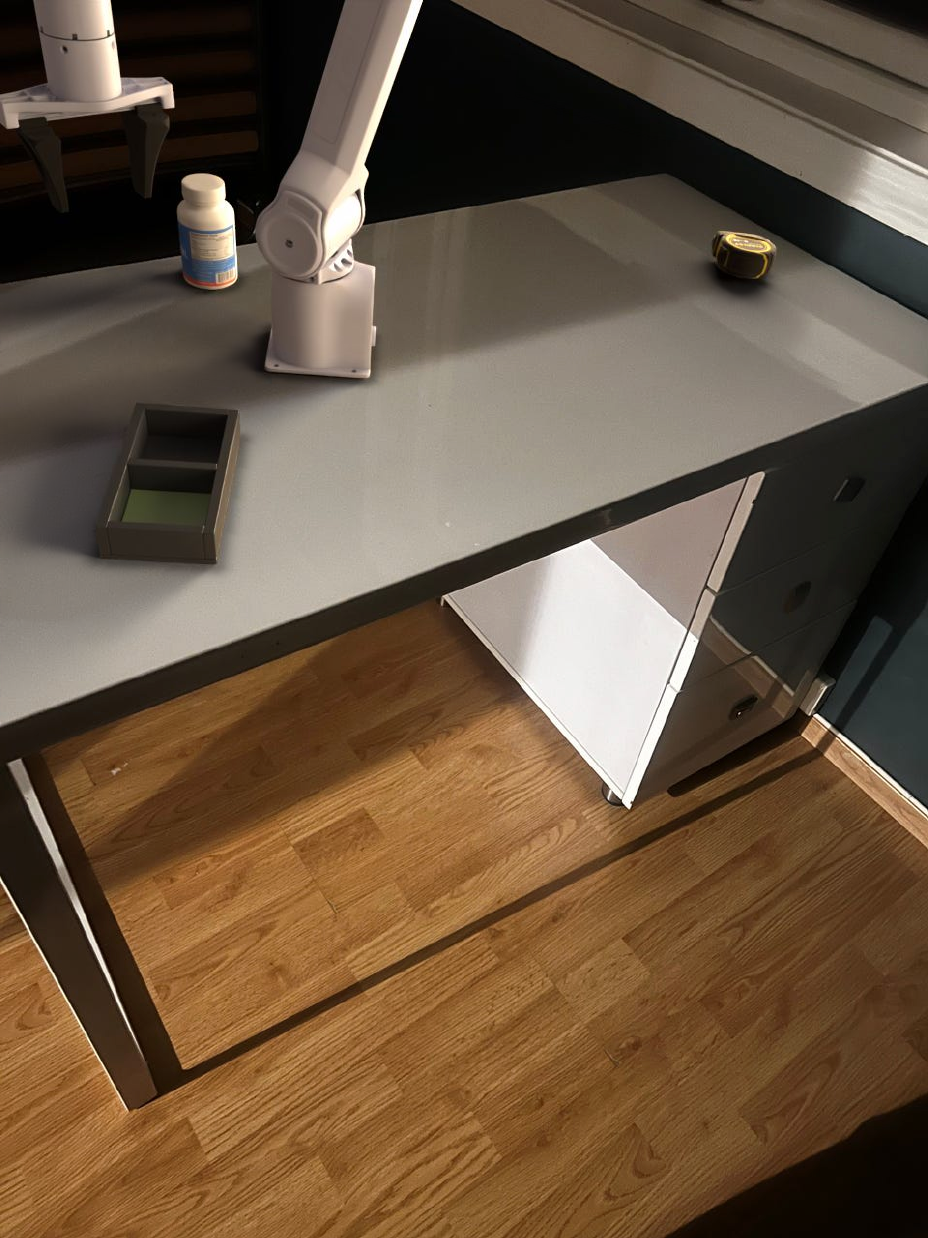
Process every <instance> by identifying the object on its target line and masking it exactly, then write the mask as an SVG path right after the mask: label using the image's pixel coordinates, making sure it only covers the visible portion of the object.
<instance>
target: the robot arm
mask: <svg viewBox="0 0 928 1238" xmlns="http://www.w3.org/2000/svg"><path fill="white" fill-rule="evenodd" d="M32 1H33V6H34V12H35V18H36V23H37V28H38V33H39V39H40V44H41V45H40V46H41V51H42V56H43V57H42V58H43V62H44V69H45V74H46V79H47V82H46V83H42V84H39V85H35V86H32V87H31V86H30V87H28V88H24V89H20V90H17V91H12V92H7V93H2V94H0V125H2V127H4V128H5V129H7V130H10V129H11V130H12V131H13V133H14V134H15V135H16V137H17V138H18V139H19V141H20V143H21V144H22V146H23V148H24V149H25V151H26V152H27V153H28V155H29V157H30V159H31V160H32V162H33V164H34V166H35V168H36V169H37V171H38V173H39V175H40V177H41V180H42V182H43V184H44V186H45V189H46V191H47V193H48V197H49V199H50V203H51V206H53V208H55V209H56V210H57V211H58V213H61V214H63V213H69V200H68V195H67V190H66V186H65V181H64V175H63V168H62V167H63V166H62V139H60V138H59V137H58V136H57V135H56V134H55V133H54V132H53V128H52V127H53V126H52V125H49V124H48V123H49V122H48V121H54V120H55V121H56V120H63V119H71V118H79V117H86V116H87V117H88V116H95V115H96V116H97V115H103V114H111V113H120V117H121V120H122V126H123V128H124V133H125V134H124V135H125V138H126V142H127V147H128V155H129V164H130V165H129V167H130V174H131V180H132V186H133V189H134V191H135V192H136V193H137V194H138V195H140V196H141V197H142V198H143V199H149V198H152V190H153V180H154V175H155V169H156V165H157V161H158V157H159V154H160V151H161V149H162V148H161V147H162V146H163V143H164V141H165V138H166V136H167V134H168V133H169V131H170V117H169V115H168V114H167V113H165V112H164V111H163V110H164V109H165V110H167V109H174V108H175V99H174V91H173V89H174V88H173V84H172V83H171V82H170V81H168V80H167V79H166V78H164V77H162V76H157V77H121V74H120V63H119V57H118V49H117V48H118V47H117V43H116V42H117V41H116V34H115V26H114V25H115V24H114V18H113V17H114V16H113V10H112V3H111V0H32ZM422 3H423V0H344V3H343V7H342V10H341V13H340V17H339V20H338V24H337V27H336V30H335V33H334V36H333V40H332V43H331V46H330V50H329V53H328V57H327V59H326V63H325V67H324V70H323V73H322V77H321V79H320V83H319V86H318V88H317V89H318V90H317V93H316V96H315V99H314V103H313V106H312V109H311V113H310V116H309V119H308V122H307V126H306V129H305V133H304V136H303V138H302V142H301V146H300V149H299V151H298V152H297V154H296V156H295V158H294V159H293V161H292V163H291V164H290V166H289V167H288V169H287V170H286V173H285V174H284V176H283V178H282V179H281V182H280V183H279V187H278V191H277V193H276V196H275V197H274V200H273V201H272V202H271V203H269V204H268V205H267V206H266V207H265V208H264V209H263V210H262V211H261V212H260V214H259V215H258V218H257V219H256V222H255V223H256V224H255V231H254V232H255V240H256V244H257V248H258V250H259V252H260V254H261V256H262V257H263V259H264V260H265V261H266V263H267V264H268V265H269V266H270V267H269V268H270V271H269V272H270V304H271V306H270V307H271V328H270V333H269V339H268V345H267V350H266V355H265V361H264V370H265V371H267V372H271V373H272V372H273V373H285V374H299V375H311V376H312V375H313V376H314V375H315V376H327V377H339V378H351V379H352V378H353V379H368V378H370V376H371V362H372V361H371V360H372V347H376V334H377V333H376V332H377V326H376V325H373V321H374V304H375V303H374V301H375V281H376V280H375V279H376V267H375V266H373V265H370V264H367V263H362V262H359V261H357V260H355V258H354V252H353V247H352V237H354V236H355V235H356V234H357V233H358V232H359V231H360V229H361V227H362V226H363V224H364V221H365V217H366V205H365V198H364V197H365V195H364V193H365V186H366V183H367V180H368V178H369V171H368V169H367V168H366V166H365V163H366V160H367V157H368V154H369V152H370V148H371V146H372V143H373V140H374V137H375V135H376V133H377V129H378V127H379V123H380V121H381V118H382V115H383V112H384V109H385V107H386V104H387V101H388V99H389V96H390V93H391V90H392V87H393V85H394V81H395V79H396V76H397V73H398V71H399V68H400V65H401V62H402V60H403V57H404V54H405V51H406V48H407V45H408V42H409V39H410V38H411V34H412V32H413V29H414V26H415V23H416V20H417V17H418V14H419V12H420V9H421V6H422Z"/></svg>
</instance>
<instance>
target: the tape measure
mask: <svg viewBox="0 0 928 1238" xmlns="http://www.w3.org/2000/svg"><path fill="white" fill-rule="evenodd" d="M710 246H711V247H710V248H711V255H712V257H713V258H715V259H714V261H715V265H716V266H717V267H718V268H719V269H720V270H721V271H722V272H724V273H726V274H728V275H731V276H734V277H736V278H738V279H739V278H740V279H748V280H753V279H754V280H757V279H762V278H765V277H767V276H768V275H769V274H770V273H771V271H772V269H773V266H774V264H775V261H776V257H777V254H778V253H777V252H778V249H777V247H776V245H775V244H774V243H773V242H772V241H771V240H770V239H768V238H767V237H763V236H760V235H756V234H750V233H743V232H733V231H725V230H718V231H717V232H716V233H715V234H714V235H713V236H712V240H711V242H710Z"/></svg>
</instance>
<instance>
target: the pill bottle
mask: <svg viewBox="0 0 928 1238" xmlns="http://www.w3.org/2000/svg"><path fill="white" fill-rule="evenodd" d="M180 182H181V183H180V184H181V195H182V198H183V199H182V200H181V201H180V202H179V203H178V205H177V208H176V217H177V229H178V230H177V231H178V238H179V247H180V248H179V249H180V258H181V266H182V268H181V271H182V274H183V279H184V280H185V281H186V283H187V284H189V285H191V286H193V287H195V288H198V289H203V290H210V291H211V290H215V291H216V290H222V289H225V288H228V287H230V286H232V285H233V284H234V283H236V281H237V279H238V261H237V259H238V258H237V246H236V229H235V227H236V225H235V212H234V208H233V207H232V205H231V204H230V202H228V201H227V200H225V199H226V186H225V185H226V184H225V181H224V180H223V179H222V177H219V176H217V175H213V174H210V173H193V174H189V175H185V176H184V177H183V178H182V179H181V181H180Z"/></svg>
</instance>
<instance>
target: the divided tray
mask: <svg viewBox="0 0 928 1238" xmlns="http://www.w3.org/2000/svg"><path fill="white" fill-rule="evenodd" d="M240 418H241V417H240V409H233V408H221V407H220V408H217V407H204V406H190V405H189V406H188V405H187V406H186V405H174V404H160V403H159V404H158V403H143V402H136V403H135V406H134V408H133V412H132V415H131V417H130V421H129V424H128V427H127V430H126V431H125V435H124V438H123V441H122V443H121V446H120V450H119V453H118V456H117V459H116V462H115V465H114V468H113V471H112V475H111V477H110V480H109V483H108V486H107V489H106V492H105V495H104V498H103V501H102V504H101V507H100V510H99V513H98V516H97V518H96V522H95V525H94V531H95V536H96V541H97V546H98V551H99V556H100V559H108V560H109V559H110V560H128V561H145V562H146V561H148V562H168V563H188V564H189V563H190V564H208V565H211V564H212V565H217V564H218V560H219V555H220V550H221V545H222V539H223V535H224V529H225V525H226V520H227V519H226V518H227V513H228V510H229V509H228V508H229V504H230V498H231V493H232V488H233V483H234V477H235V472H236V466H237V463H238V462H237V461H238V456H239V451H240V445H241V441H242V436H241V419H240Z"/></svg>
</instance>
